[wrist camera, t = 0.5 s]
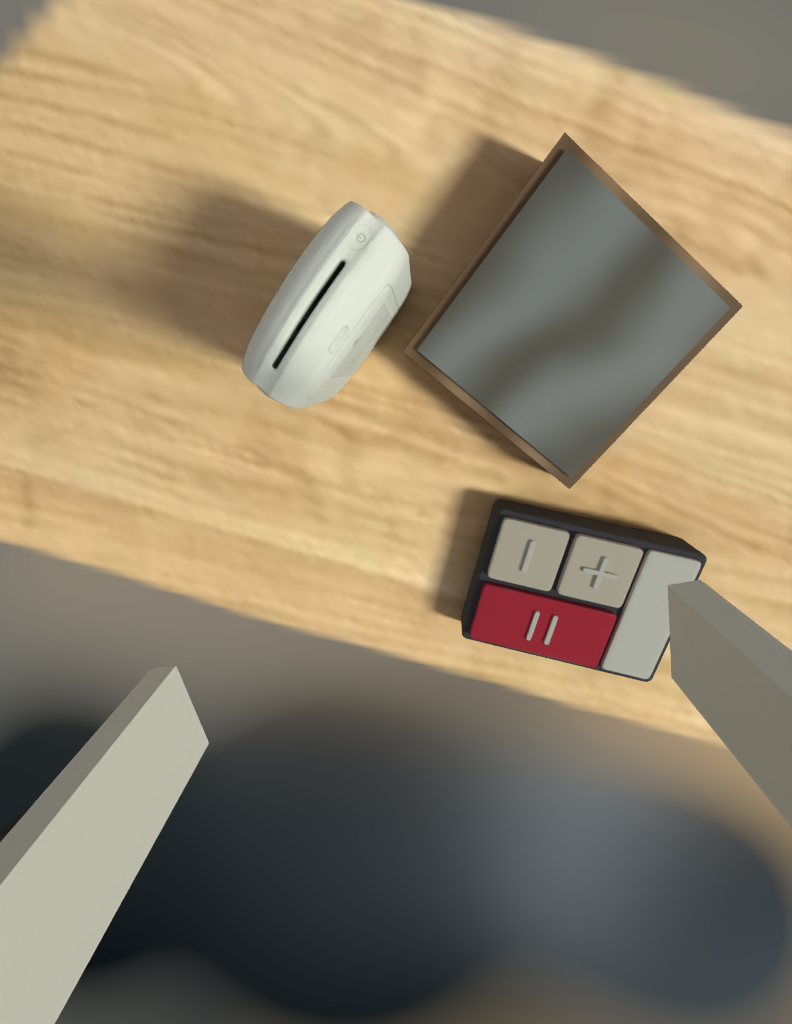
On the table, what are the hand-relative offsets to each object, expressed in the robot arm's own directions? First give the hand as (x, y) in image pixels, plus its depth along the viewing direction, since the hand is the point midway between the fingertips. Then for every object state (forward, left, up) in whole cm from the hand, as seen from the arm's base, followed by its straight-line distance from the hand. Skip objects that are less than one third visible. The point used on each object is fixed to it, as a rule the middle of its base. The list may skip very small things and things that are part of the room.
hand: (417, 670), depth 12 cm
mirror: (+1, +13, -24) cm, 27 cm away
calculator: (+15, 0, -24) cm, 29 cm away
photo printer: (-10, +5, -24) cm, 26 cm away
